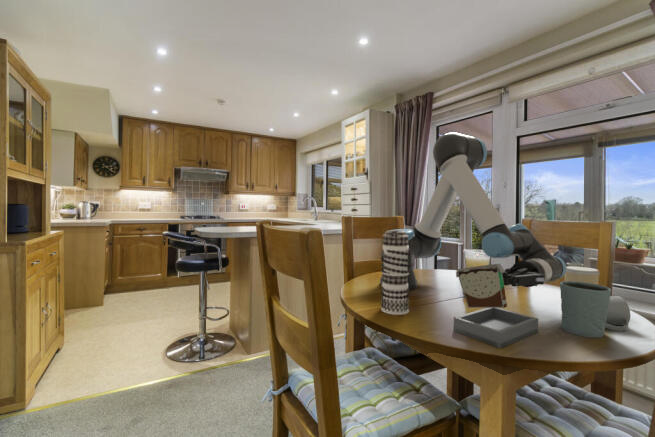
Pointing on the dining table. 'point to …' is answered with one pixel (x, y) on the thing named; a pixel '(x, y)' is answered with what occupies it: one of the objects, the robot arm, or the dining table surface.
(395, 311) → the decorative candle
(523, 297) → the dining table surface
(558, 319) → the dining table surface
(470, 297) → the food container
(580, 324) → the teal tapered cylinder
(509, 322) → the tray
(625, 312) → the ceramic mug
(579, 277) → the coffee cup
